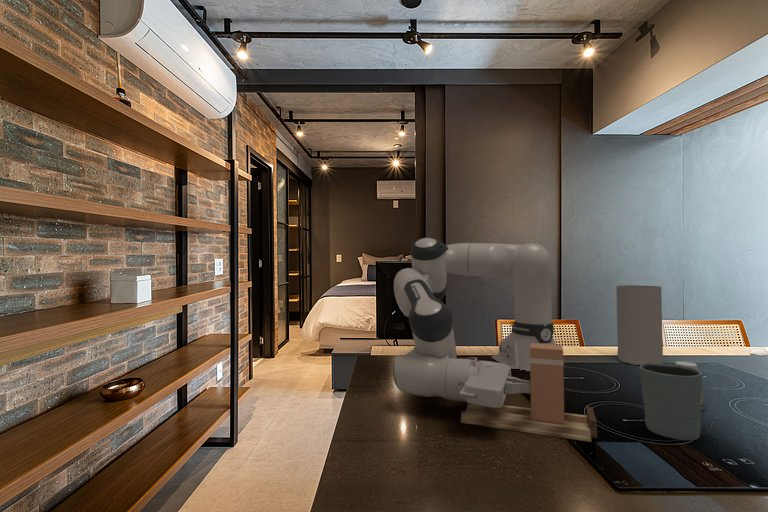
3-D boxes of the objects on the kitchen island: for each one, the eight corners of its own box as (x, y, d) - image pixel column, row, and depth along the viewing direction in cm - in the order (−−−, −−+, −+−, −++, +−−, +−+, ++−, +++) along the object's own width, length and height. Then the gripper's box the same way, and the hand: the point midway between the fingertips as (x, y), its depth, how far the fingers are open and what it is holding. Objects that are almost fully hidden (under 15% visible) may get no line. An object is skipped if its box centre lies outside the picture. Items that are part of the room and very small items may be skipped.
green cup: (686, 446, 70) (684, 378, 70) (629, 426, 79) (627, 366, 79) (715, 434, 75) (713, 371, 75) (657, 416, 84) (656, 360, 84)
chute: (460, 422, 81) (460, 405, 81) (468, 407, 89) (468, 391, 90) (597, 442, 72) (597, 422, 72) (592, 424, 80) (591, 406, 80)
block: (530, 423, 78) (529, 347, 78) (531, 414, 82) (530, 343, 83) (564, 428, 75) (563, 350, 76) (563, 418, 80) (562, 345, 80)
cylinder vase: (672, 366, 123) (670, 287, 124) (632, 367, 124) (630, 287, 124) (646, 357, 136) (644, 285, 136) (610, 357, 136) (608, 285, 137)
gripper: (452, 378, 76) (528, 386, 71) (471, 355, 95) (532, 360, 90) (452, 411, 76) (528, 421, 71) (471, 381, 95) (532, 388, 90)
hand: (530, 387), depth 80 cm, fingers closed, pressing on block
